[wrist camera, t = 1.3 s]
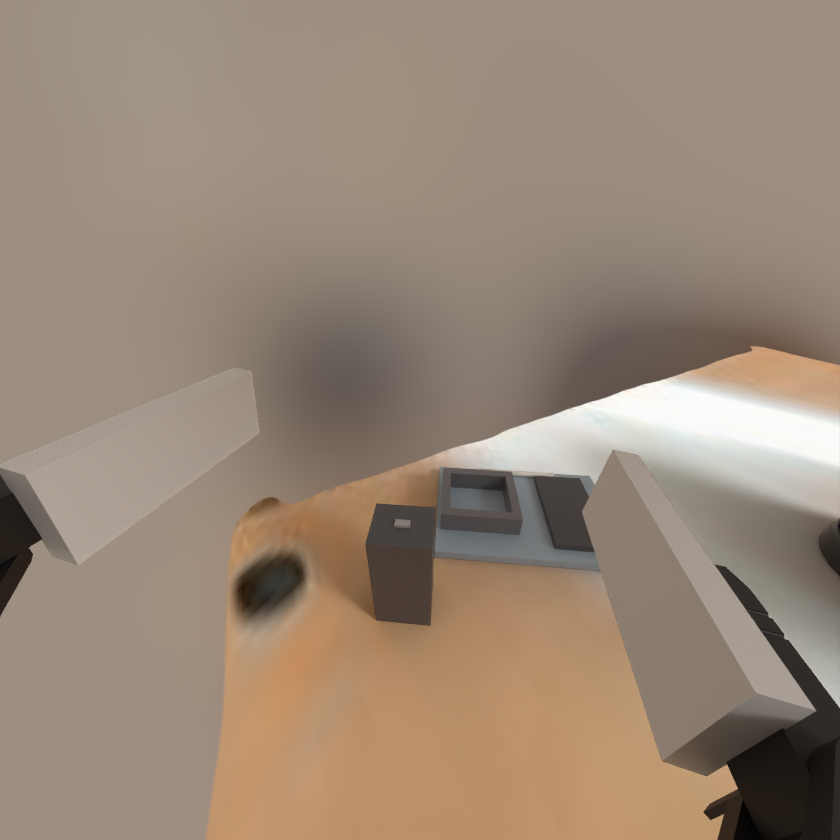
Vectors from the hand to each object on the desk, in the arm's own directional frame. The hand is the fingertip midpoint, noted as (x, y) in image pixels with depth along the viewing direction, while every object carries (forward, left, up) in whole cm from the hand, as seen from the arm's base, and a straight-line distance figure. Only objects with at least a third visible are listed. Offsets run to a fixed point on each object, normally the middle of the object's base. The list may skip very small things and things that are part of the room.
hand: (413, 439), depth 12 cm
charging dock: (-11, -19, -24) cm, 33 cm away
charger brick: (+2, -7, -25) cm, 26 cm away
